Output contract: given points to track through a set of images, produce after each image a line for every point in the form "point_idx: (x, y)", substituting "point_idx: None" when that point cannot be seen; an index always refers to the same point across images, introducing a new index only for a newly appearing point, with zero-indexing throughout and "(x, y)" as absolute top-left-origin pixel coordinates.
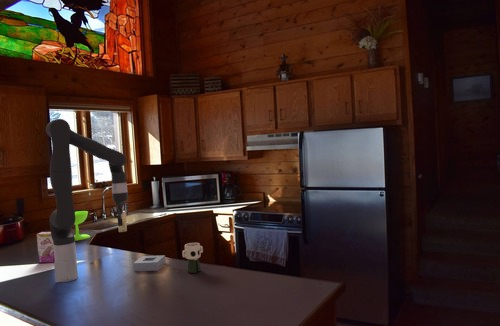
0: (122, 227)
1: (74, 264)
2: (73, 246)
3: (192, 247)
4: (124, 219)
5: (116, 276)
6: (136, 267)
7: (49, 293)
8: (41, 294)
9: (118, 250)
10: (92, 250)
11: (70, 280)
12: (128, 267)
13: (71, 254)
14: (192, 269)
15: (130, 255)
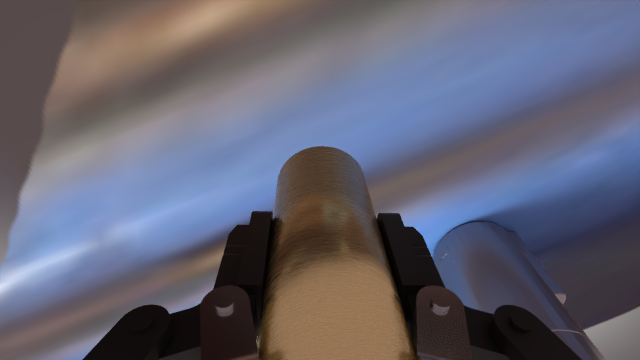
0: (370, 199)
1: (519, 265)
2: (573, 344)
3: None
4: (364, 247)
5: (518, 48)
6: None
7: (620, 234)
8: (616, 253)
9: (23, 234)
10: (54, 335)
11: (506, 231)
12: (362, 42)
13: (563, 311)
14: None
15: (110, 129)
